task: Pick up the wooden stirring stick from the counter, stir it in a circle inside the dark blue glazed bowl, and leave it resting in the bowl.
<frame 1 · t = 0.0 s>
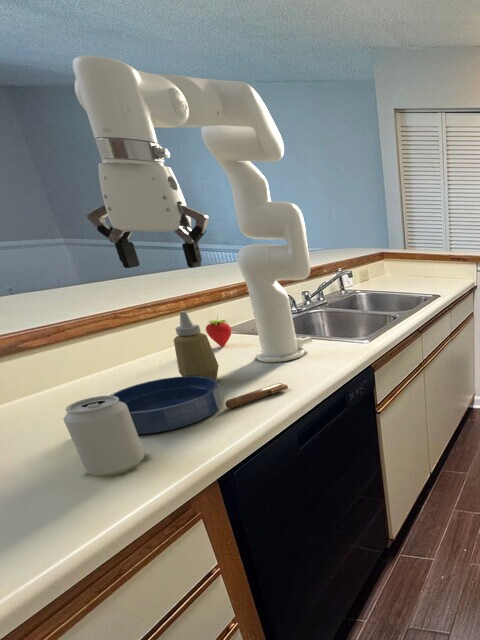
hand: (164, 266, 73), 31 cm above the countertop, tool pointing down, fingers open, 9 cm apart
stirring stick: (258, 398, 97), on the countertop
can: (118, 467, 71), on the countertop
strawberry: (223, 346, 133), on the countertop
squeeze bottle: (203, 383, 106), on the countertop
bowl: (169, 414, 89), on the countertop
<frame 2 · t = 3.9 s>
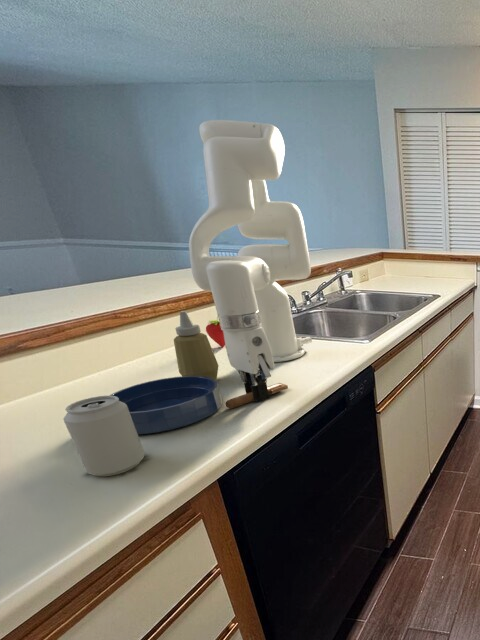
hand: (258, 397, 97), 0 cm above the countertop, tool pointing down, fingers closed on stirring stick, 2 cm apart
stirring stick: (258, 398, 97), on the countertop, touching gripper
everything else where it was.
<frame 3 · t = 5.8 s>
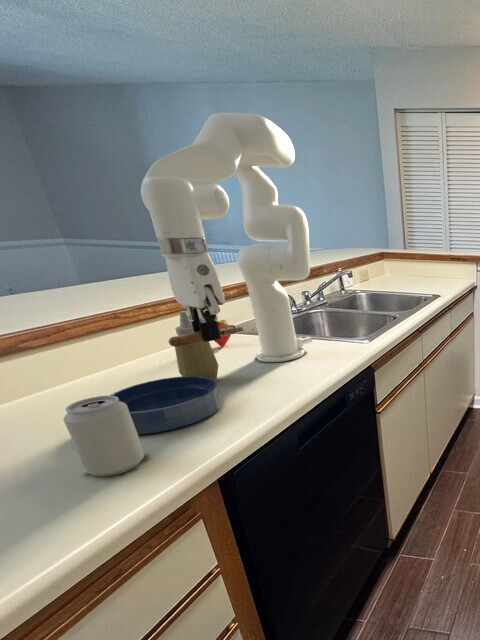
hand: (208, 338, 88), 15 cm above the countertop, tool pointing down, fingers closed on stirring stick
stirring stick: (208, 339, 88), point 15 cm above the countertop, touching gripper
everything else where it was.
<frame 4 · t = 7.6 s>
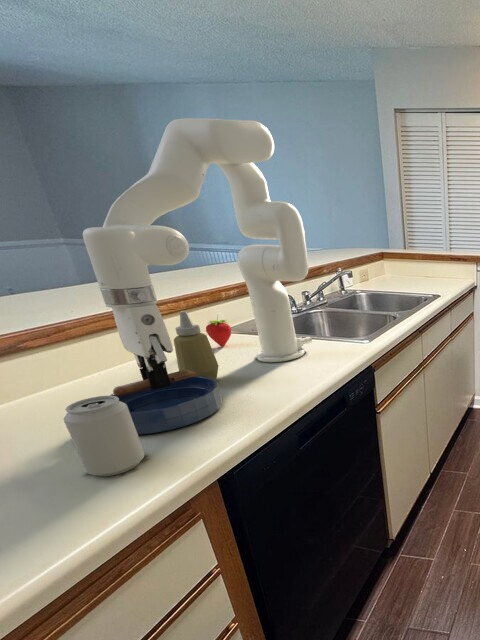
hand: (158, 385, 86), 7 cm above the countertop, tool pointing down, fingers closed on stirring stick
stirring stick: (158, 386, 86), point 7 cm above the countertop, touching gripper
everything else where it was.
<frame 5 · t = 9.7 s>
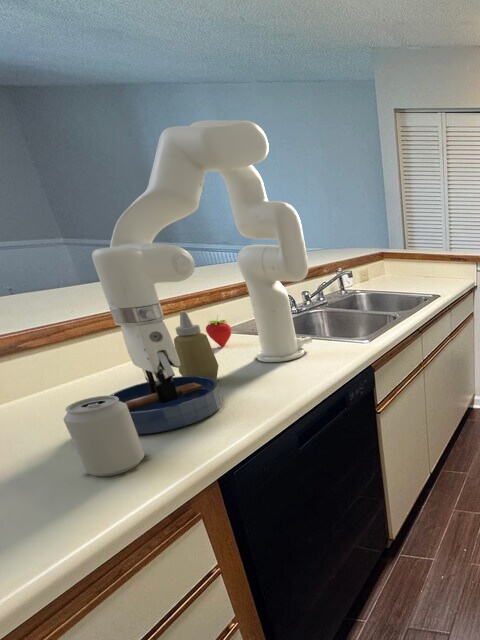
hand: (166, 399, 89), 3 cm above the countertop, tool pointing down, fingers closed on stirring stick, 2 cm apart
stirring stick: (166, 399, 89), point 3 cm above the countertop, touching gripper
everything else where it was.
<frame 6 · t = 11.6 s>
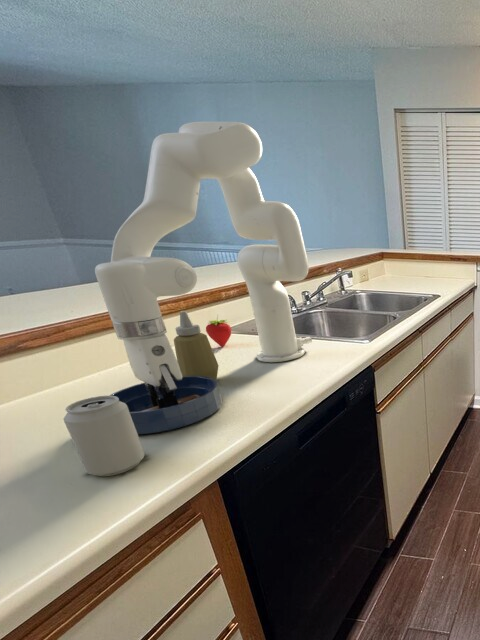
hand: (167, 411, 89), 1 cm above the countertop, tool pointing down, fingers closed, pressing on bowl, stirring stick
stirring stick: (167, 412, 89), point 1 cm above the countertop, touching bowl, gripper
everything else where it was.
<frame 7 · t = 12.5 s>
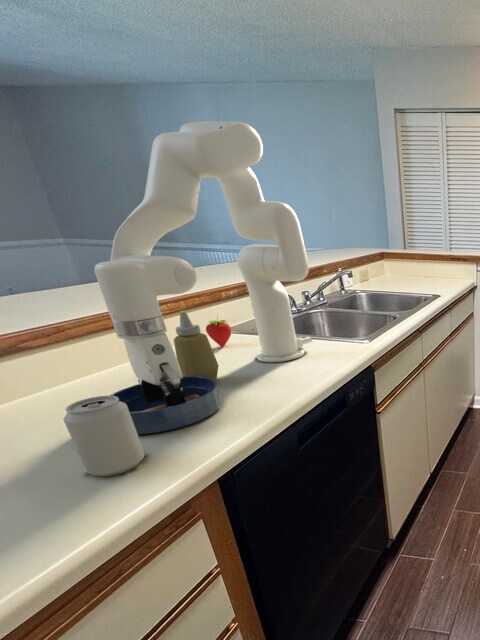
hand: (166, 405, 89), 2 cm above the countertop, tool pointing down, fingers open, 9 cm apart
stirring stick: (167, 412, 89), point 1 cm above the countertop, tilted 6°, touching bowl
everything else where it was.
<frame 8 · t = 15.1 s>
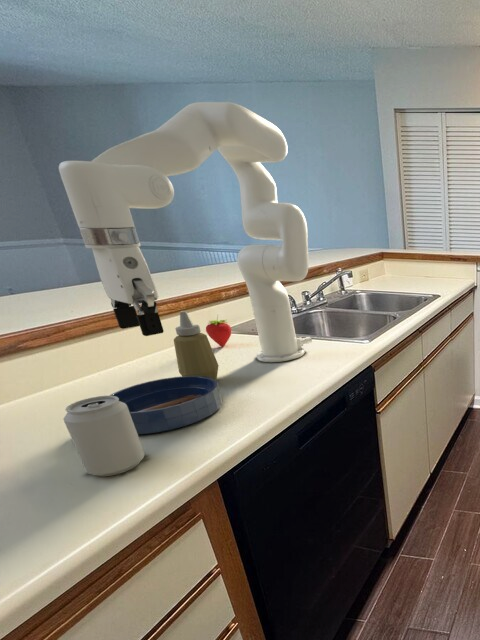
hand: (141, 330, 82), 18 cm above the countertop, tool pointing down, fingers open, 9 cm apart
stirring stick: (167, 412, 89), point 1 cm above the countertop, tilted 23°, touching bowl
everything else where it was.
at the end: stirring stick inside the target area in the bowl (0.2 cm from its centre), point 0.6 cm above the bowl's base; the gripper is holding nothing; stirring stick moved 16.7 cm from its start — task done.
